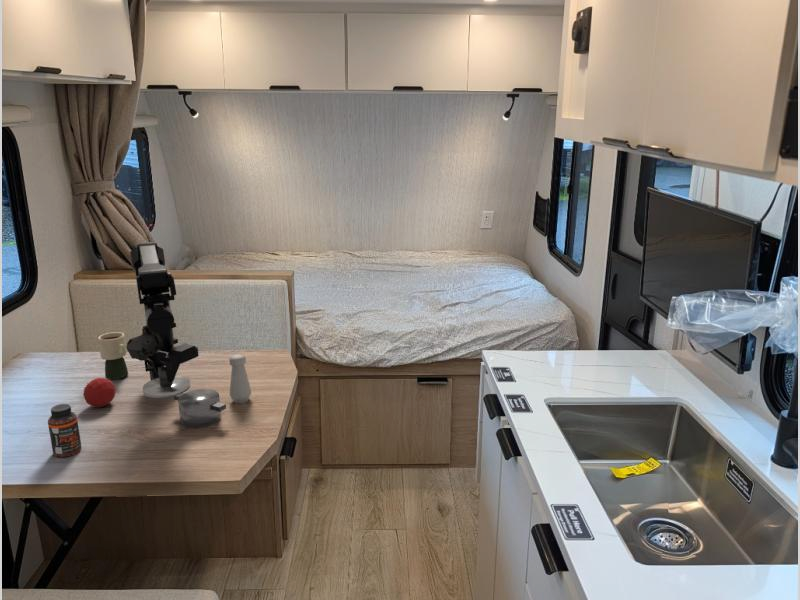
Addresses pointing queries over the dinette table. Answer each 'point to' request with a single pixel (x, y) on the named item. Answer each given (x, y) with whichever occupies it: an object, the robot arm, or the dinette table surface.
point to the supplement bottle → (64, 431)
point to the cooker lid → (165, 385)
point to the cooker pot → (199, 408)
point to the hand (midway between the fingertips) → (166, 380)
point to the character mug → (113, 354)
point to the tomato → (99, 392)
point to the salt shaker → (239, 380)
